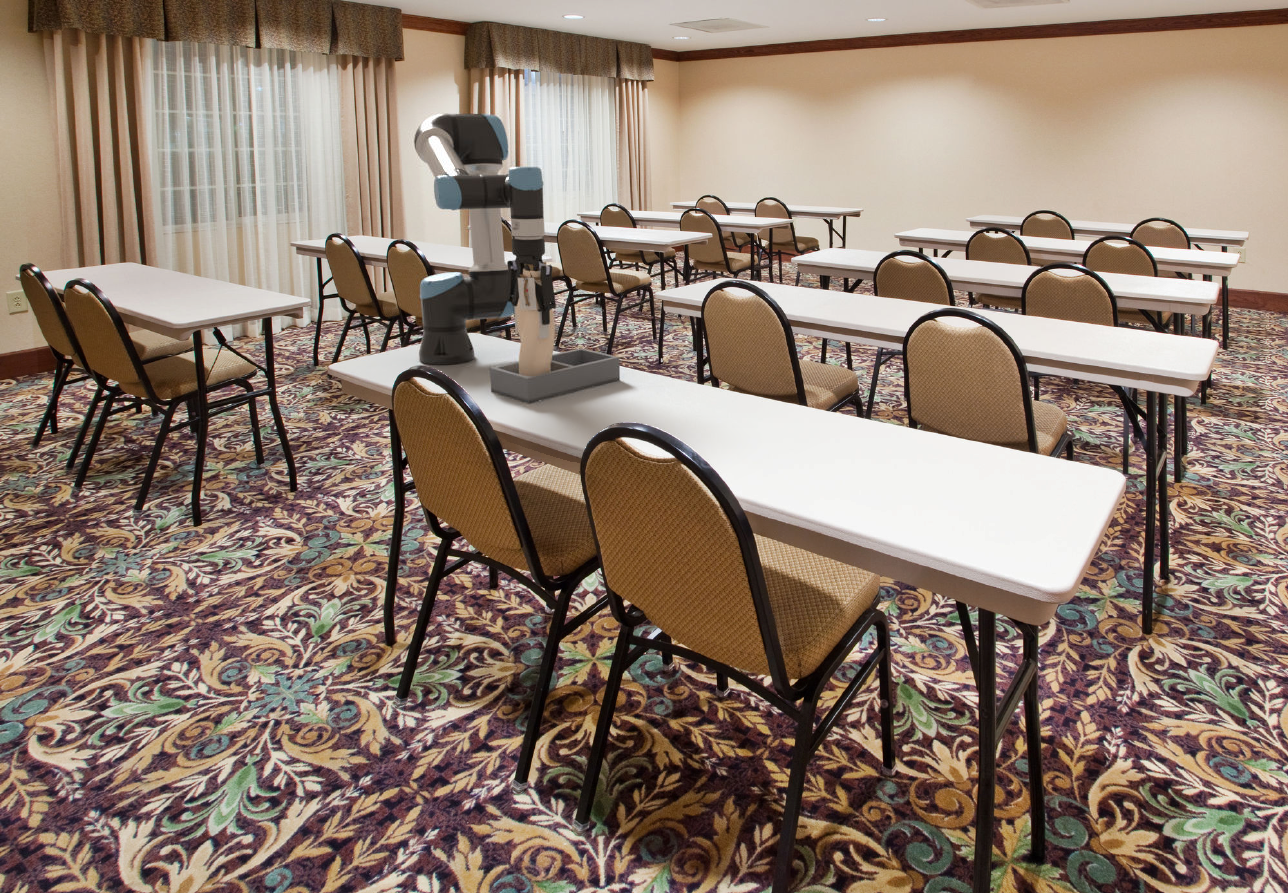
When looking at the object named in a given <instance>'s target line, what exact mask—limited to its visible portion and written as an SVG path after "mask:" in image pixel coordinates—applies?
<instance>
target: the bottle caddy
mask: <svg viewBox="0 0 1288 893" xmlns="http://www.w3.org/2000/svg"><path fill="white" fill-rule="evenodd" d="M620 359H621V358H620V356H617V355H612V354H607V353H604V352H600V351H595V350H590V349H587V348H582V347H581V348H577V349H576V348H575V349H572V350H568V351H567V350H566V351H563V352H558V353H553V355H552V360H551V364H550V365H551V372H546V373H542V374H538V375H533V376H529V377H527V376H524V375H520V374H519V361H515V362H512V363H511V362H510V363H506V364H501V365H497V366H491V367H489V377H490V378H489V379H490V392H491V393H494V394H496V393H497V395H500V396H504V397H506V398H509V399H512V398H513V400H515V401H518V400H519V402H521V403H525V402H526V404H528V405H529V404H532V403H531V402H533V403H537V402H540V401H539V400H541V401H544V399H545V400H548V399H551V398H555V397H559V396H564V395H568V394H571V393H575V392H579V391H583V390H586V389H590V388H594V387H598V386H602V385H605V384H609V383H613V382H618V381H620V378H621V376H620V373H621V372H620V371H621V370H620V369H621V368H620V366H621V364H620ZM567 393H568V394H567ZM547 398H548V399H547ZM536 401H537V402H536Z"/></svg>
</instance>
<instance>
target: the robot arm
mask: <svg viewBox="0 0 1288 893" xmlns="http://www.w3.org/2000/svg"><path fill="white" fill-rule="evenodd" d="M508 141H509V140H508V135H507V132H506V128H505V126H504V124H503V122H502V119H501V118H499V116H497V115H495V114H486V113H438V114H436V115H432V116H430V117H428V118H427V119H425V120H424V121H423V122H422V123H421V124H420V125H419V126H418V128H417V129H416V131H415V134H414V140H413V144H414V149H415V152H416V153H417V156H418V157H419V159H421V161H422V162H424V163H425V164H427V166H428V168H429V169H430V171H431V173H432V175H433V177H434V181H433V192H434V194H433V196H434V200H435V203H436V207H438V209H441V210H451V211H457V210H468V213H469V225H470V238H471V248H472V262H473V264H472V266H471V267H470V268H469V269H468V276H467V277H464V275H463V273H462V272H459V271H458V272H457V271H454V272H442V273H438V274H434V275H429V276H426V277H425V278H423V279H422V280H421V281H420V284H419V293H420V294H419V298H420V304H421V314H422V316H421V317H422V327H423V328H422V329H423V334H422V337H421V342H420V347H419V350H418V357H419V358H418V359H419V361H420V362H421V363H424V364H427V365H455V364H462V363H467V362H470V361H472V360H474V359H475V349H474V346H473V344H472V341H471V339H470V336H469V333H468V331H467V321H471V320H485V319H487V320H488V319H501V318H508V317H512V316H513V317H514V326H515V327H514V328H515V334H517V335H519V332H518V327H517V315H516V310H517V304H518V300H519V288H518V278H522V277H521V276H520V274H523V269H524V263H527V264H531V265H533V271H538V269H539V268H540V271H539V273H540V279H541V285H539V284H537V283H536V282H535V281H534V282H535V295H536V298H537V302H538V305H539V308H540V309H538V316H539V336H538V339H544V338H549V324H550V310H551V309H552V310H553V309H556V307H557V303H556V297H555V290H554V283H553V282H554V281H553V277H552V276H553V266H552V264H548V265H547V264H546V263H545V264H543V262H544V261H543V255H545V254H546V241H545V239H544V238H543V237H544V236H545V235H546V234H545V217H544V212H545V211H544V181H543V173H542V172H543V171H542V169H541V167H538V166H512V167H510V168H508V173H506V174H499V173H500V172H499V171H501V169H502V168H503V166H504V165H503V161H505V160H507V159H508V156H509V142H508ZM502 209H509V211H510V223H511V224H510V228H511V229H510V230H511V236H512V237H514V238H512V239H511V248H512V250H511V252H512V254H513V255H514V256H515V259H514V260H508V261H507V262H505V261H506V260H505V248H504V237H503V223H502V212H501V210H502ZM527 264H526V265H525V270H526V271H531V270H530V268H529V266H528V265H527ZM530 274H531V273H530ZM531 277H532V275H531ZM543 304H544V305H543Z"/></svg>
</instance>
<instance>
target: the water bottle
mask: <svg viewBox="0 0 1288 893" xmlns="http://www.w3.org/2000/svg"><path fill="white" fill-rule="evenodd" d="M526 264H527V263H524V269H523V274H520V276H521V277H522V278H518V288H519V300H518V304H517V310H516V315H517V327H518V332H519V334H518V335H519V339H520V347H519V354H518V362H519V374H520V375H524V376H527V377H529V376H533V375H538V374H542V373H546V372H551V365H550V364H551V360H552V355H553V354H554V347H555V333H556V332H555V331H556V330H555V329H556V324H555V323H556V322H555V314H554V311H553V309H551V310H550V324H549V338H544V339H538V336H539V316H538V309H540V308H539V305H538V302H537V298H536V295H535V282H536V283H537V284H539V285H541V279H540V273H539V271H540V268H539V269H538V271H533V265H531V264H527V265H528V266H529V268H530V270H531V271H526V270H525V265H526ZM543 264H545V265H546V262H544V261H543ZM530 273H531V274H530ZM531 275H532V277H531ZM534 281H535V282H534ZM543 305H544V304H543Z"/></svg>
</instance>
